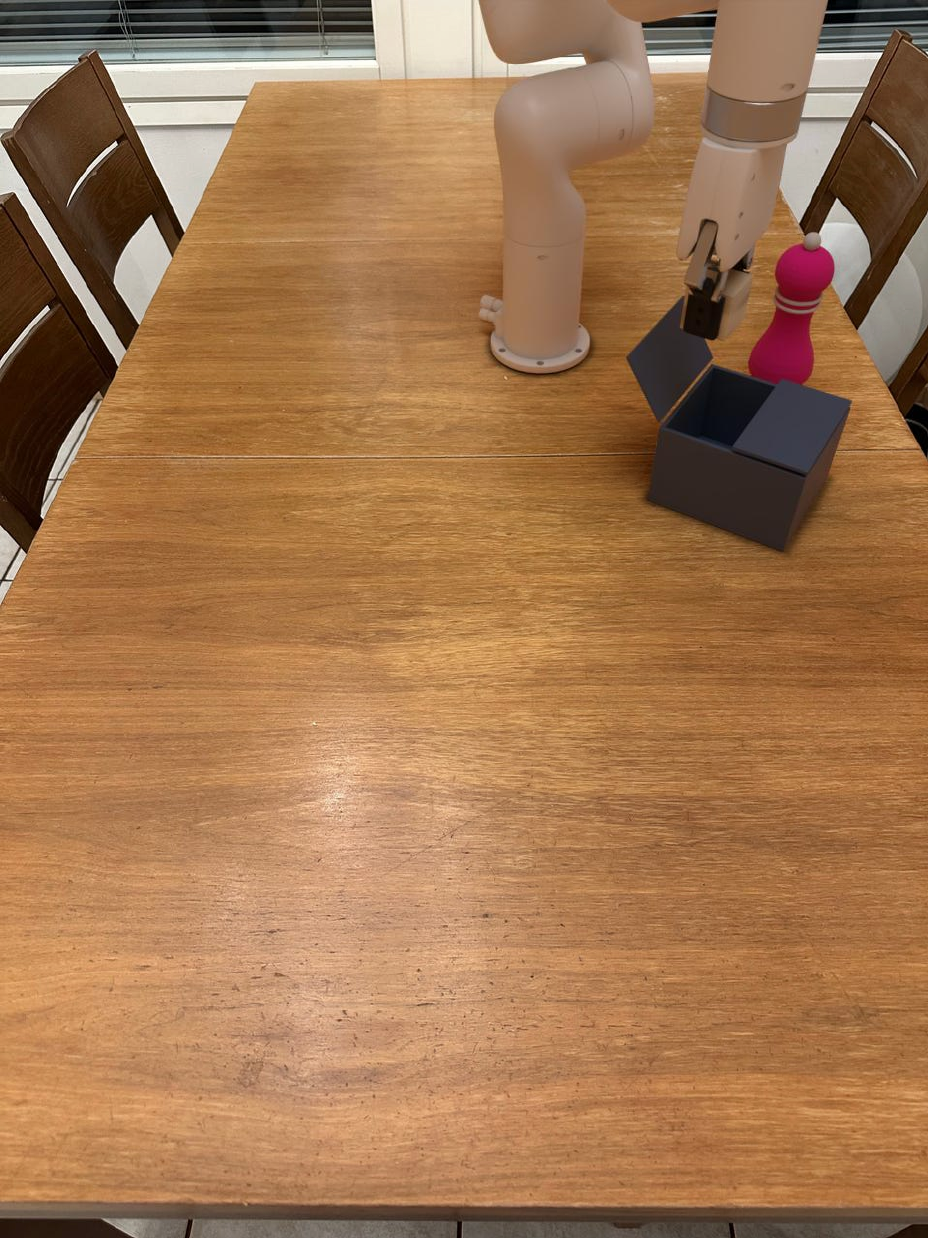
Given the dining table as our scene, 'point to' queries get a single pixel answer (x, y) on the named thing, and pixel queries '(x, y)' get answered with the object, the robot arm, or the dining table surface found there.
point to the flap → (668, 361)
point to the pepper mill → (793, 313)
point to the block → (729, 300)
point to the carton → (747, 453)
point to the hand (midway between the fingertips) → (712, 319)
